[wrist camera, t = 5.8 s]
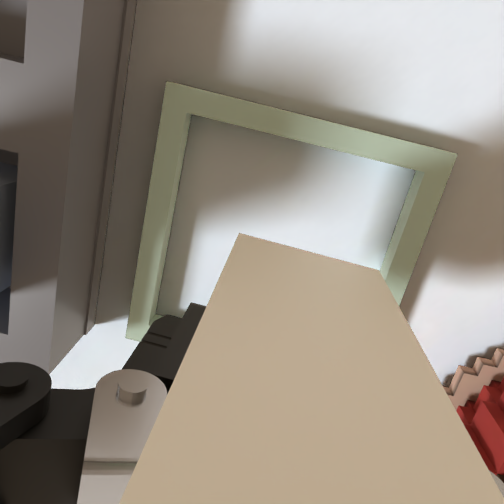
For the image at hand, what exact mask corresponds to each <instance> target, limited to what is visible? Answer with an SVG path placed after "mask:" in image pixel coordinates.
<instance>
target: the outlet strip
mask: <svg viewBox="0 0 504 504" xmlns="http://www.w3.org/2000/svg"><path fill="white" fill-rule="evenodd" d="M136 3H137V0H0V162H3V163H7V164H11V165H15V166H18V171H17V189H16V206H15V224H14V241H13V258H12V276H11V286H9V287H8V288H6V289H5V290H3V291H2V292H0V363H5V362H24V363H30V364H33V365H36V366H38V367H40V368H42V369H44V370H45V371H46V372H47V373H48V374H50V373H51V372H52V371H53V370H54V368H55V367H56V366H57V365H58V364H59V363H60V361H61V360H62V359H63V358H64V357H65V356H66V355H67V353H68V352H69V351H70V350H71V349H72V348H73V347H74V345H75V344H76V343H77V342H78V341H79V340H80V338H81V337H82V336H83V335H86V334H87V333H88V332H89V331H90V330H91V328H92V327H93V326H94V323H95V316H96V308H97V301H98V293H99V285H100V278H101V270H102V262H103V255H104V247H105V239H106V232H107V224H108V217H109V209H110V201H111V194H112V186H113V178H114V171H115V163H116V156H117V148H118V140H119V133H120V125H121V117H122V110H123V102H124V94H125V87H126V79H127V72H128V64H129V56H130V49H131V41H132V33H133V26H134V18H135V11H136Z"/></svg>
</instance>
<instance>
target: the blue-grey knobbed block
mask: <svg viewBox="0 0 504 504" xmlns="http://www.w3.org/2000/svg"><path fill="white" fill-rule="evenodd" d="M17 171H18V166H15V165H11V164H7V163H3V162H0V292H2V291H3V290H5V289H6V288H8V287H9V286H11V276H12V258H13V241H14V224H15V206H16V189H17Z"/></svg>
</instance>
